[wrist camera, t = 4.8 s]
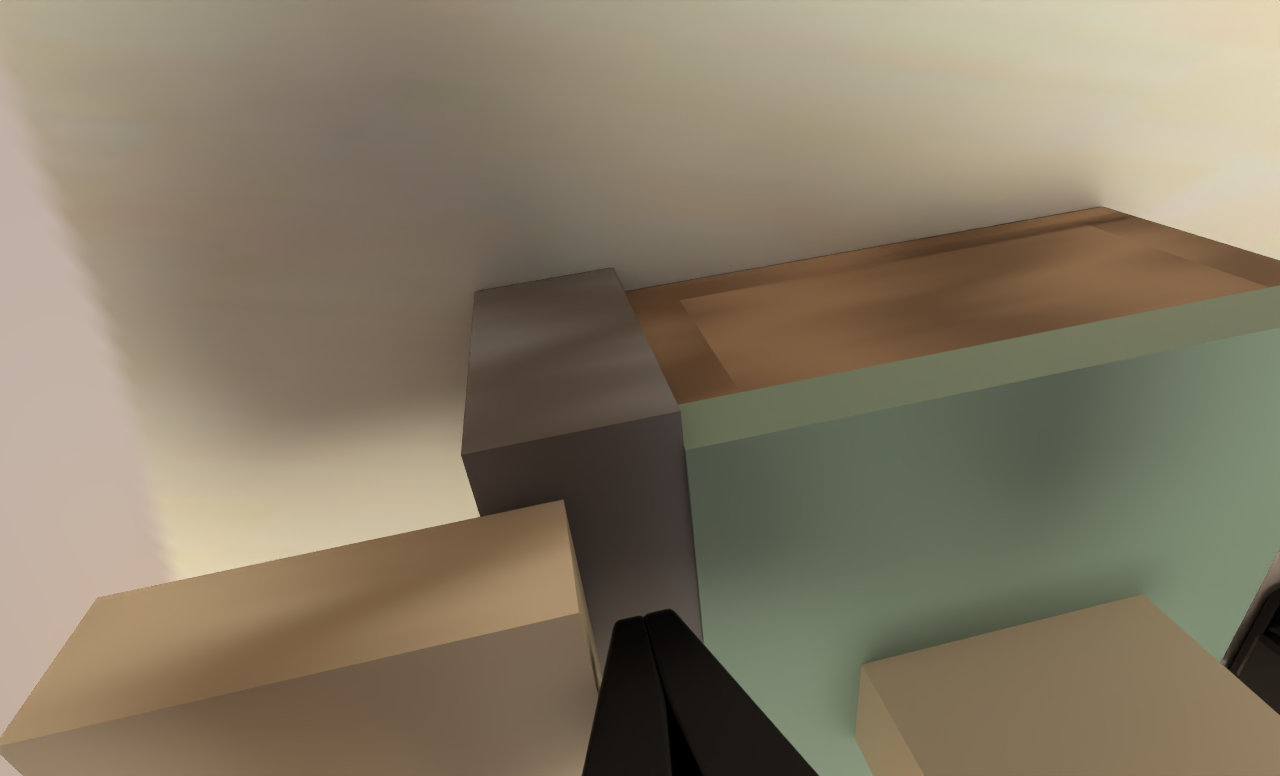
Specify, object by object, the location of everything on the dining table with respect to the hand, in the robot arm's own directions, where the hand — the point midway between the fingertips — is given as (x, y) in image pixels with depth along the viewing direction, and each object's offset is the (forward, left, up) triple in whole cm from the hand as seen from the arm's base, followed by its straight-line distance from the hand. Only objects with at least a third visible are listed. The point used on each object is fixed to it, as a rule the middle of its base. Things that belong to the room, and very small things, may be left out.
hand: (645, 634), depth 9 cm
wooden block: (+4, 0, -1) cm, 4 cm away
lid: (-7, +5, -3) cm, 9 cm away
